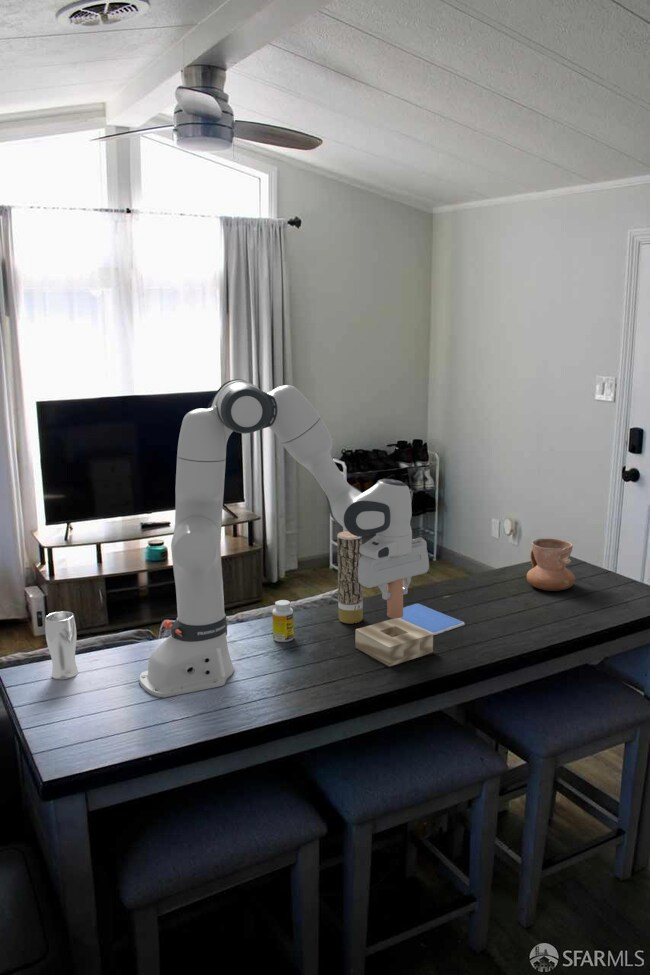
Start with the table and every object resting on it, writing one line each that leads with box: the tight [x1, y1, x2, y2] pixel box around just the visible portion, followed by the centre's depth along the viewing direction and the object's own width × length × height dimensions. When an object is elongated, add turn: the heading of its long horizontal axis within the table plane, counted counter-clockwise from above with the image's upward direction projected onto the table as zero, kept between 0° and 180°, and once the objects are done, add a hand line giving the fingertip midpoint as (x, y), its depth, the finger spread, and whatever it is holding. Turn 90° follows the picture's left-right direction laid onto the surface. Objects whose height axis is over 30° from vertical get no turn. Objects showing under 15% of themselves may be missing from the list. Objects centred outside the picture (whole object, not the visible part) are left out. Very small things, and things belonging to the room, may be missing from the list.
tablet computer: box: [400, 603, 466, 636], centre depth 223 cm, size 19×13×1 cm, turn 37°
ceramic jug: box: [526, 537, 576, 592], centre depth 247 cm, size 18×14×14 cm
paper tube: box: [336, 530, 364, 625], centre depth 221 cm, size 7×7×25 cm
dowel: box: [386, 579, 404, 619], centre depth 200 cm, size 4×4×10 cm
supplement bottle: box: [271, 599, 295, 643], centre depth 211 cm, size 6×6×10 cm
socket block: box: [354, 618, 434, 667], centre depth 203 cm, size 14×14×5 cm
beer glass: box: [44, 610, 79, 681], centre depth 192 cm, size 7×7×15 cm
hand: (394, 596), depth 200 cm, fingers closed on dowel, 4 cm apart
